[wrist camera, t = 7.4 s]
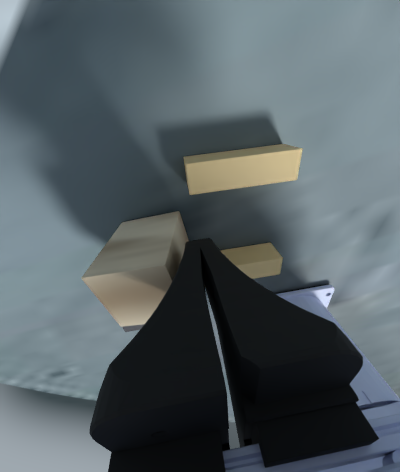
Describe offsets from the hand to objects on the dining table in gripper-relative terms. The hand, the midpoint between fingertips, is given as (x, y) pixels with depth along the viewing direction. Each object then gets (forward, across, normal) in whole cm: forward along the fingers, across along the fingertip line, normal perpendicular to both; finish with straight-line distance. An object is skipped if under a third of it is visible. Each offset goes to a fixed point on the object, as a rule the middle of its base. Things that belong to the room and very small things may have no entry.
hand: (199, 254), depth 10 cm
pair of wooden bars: (+4, -3, 0) cm, 5 cm away
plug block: (+3, +2, +1) cm, 4 cm away
